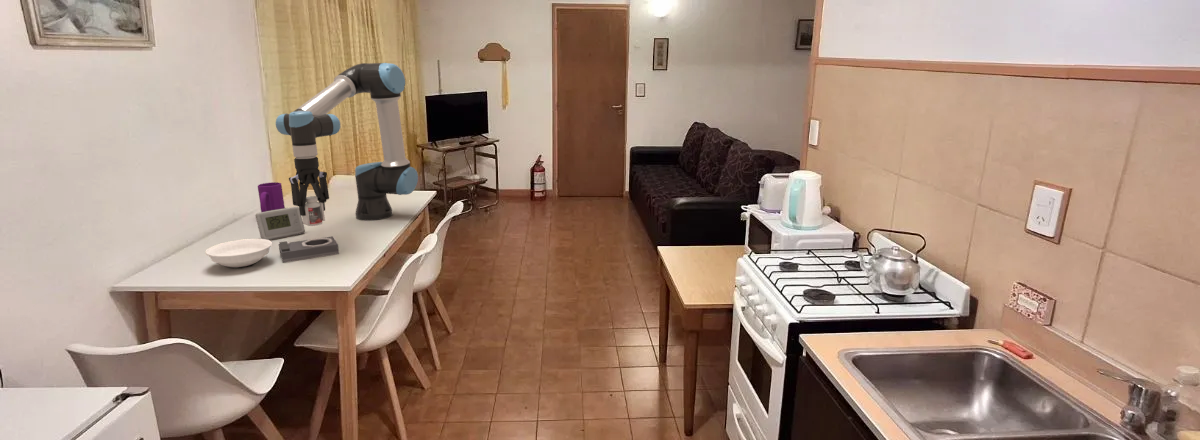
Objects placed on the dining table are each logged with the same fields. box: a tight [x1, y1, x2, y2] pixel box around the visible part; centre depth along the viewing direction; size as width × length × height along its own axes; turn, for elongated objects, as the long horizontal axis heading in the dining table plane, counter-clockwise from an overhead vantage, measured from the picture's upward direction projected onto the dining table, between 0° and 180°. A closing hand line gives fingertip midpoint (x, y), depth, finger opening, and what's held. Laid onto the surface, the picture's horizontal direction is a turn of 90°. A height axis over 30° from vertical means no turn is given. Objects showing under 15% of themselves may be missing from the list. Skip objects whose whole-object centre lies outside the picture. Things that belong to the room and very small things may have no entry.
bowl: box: [204, 238, 273, 268], centre depth 215 cm, size 20×20×6 cm
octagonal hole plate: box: [278, 236, 340, 263], centre depth 226 cm, size 18×12×4 cm, turn 120°
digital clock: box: [254, 206, 306, 241], centre depth 247 cm, size 16×9×11 cm, turn 122°
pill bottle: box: [305, 195, 323, 227], centre depth 224 cm, size 5×5×10 cm
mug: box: [257, 182, 286, 212], centre depth 271 cm, size 9×16×15 cm, turn 8°
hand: (314, 222), depth 225 cm, fingers closed on pill bottle, 5 cm apart
